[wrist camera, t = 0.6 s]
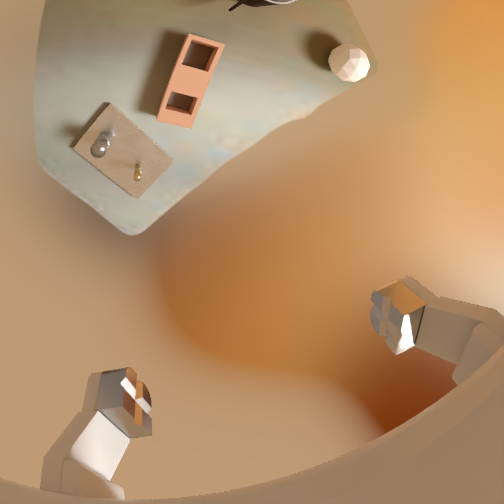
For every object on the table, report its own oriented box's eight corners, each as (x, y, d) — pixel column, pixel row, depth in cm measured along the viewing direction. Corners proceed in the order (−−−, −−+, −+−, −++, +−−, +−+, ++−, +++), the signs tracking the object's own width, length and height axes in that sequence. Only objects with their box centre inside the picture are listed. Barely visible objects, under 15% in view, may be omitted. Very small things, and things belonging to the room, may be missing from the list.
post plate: (74, 146, 39) (63, 161, 33) (110, 103, 37) (103, 110, 31) (137, 196, 50) (136, 216, 44) (173, 159, 47) (177, 175, 42)
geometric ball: (335, 67, 47) (355, 94, 45) (313, 54, 41) (334, 81, 40) (360, 47, 41) (383, 73, 40) (340, 30, 36) (365, 57, 35)
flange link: (186, 35, 34) (189, 33, 31) (219, 45, 36) (225, 44, 34) (156, 116, 41) (156, 120, 38) (188, 123, 44) (191, 128, 41)
